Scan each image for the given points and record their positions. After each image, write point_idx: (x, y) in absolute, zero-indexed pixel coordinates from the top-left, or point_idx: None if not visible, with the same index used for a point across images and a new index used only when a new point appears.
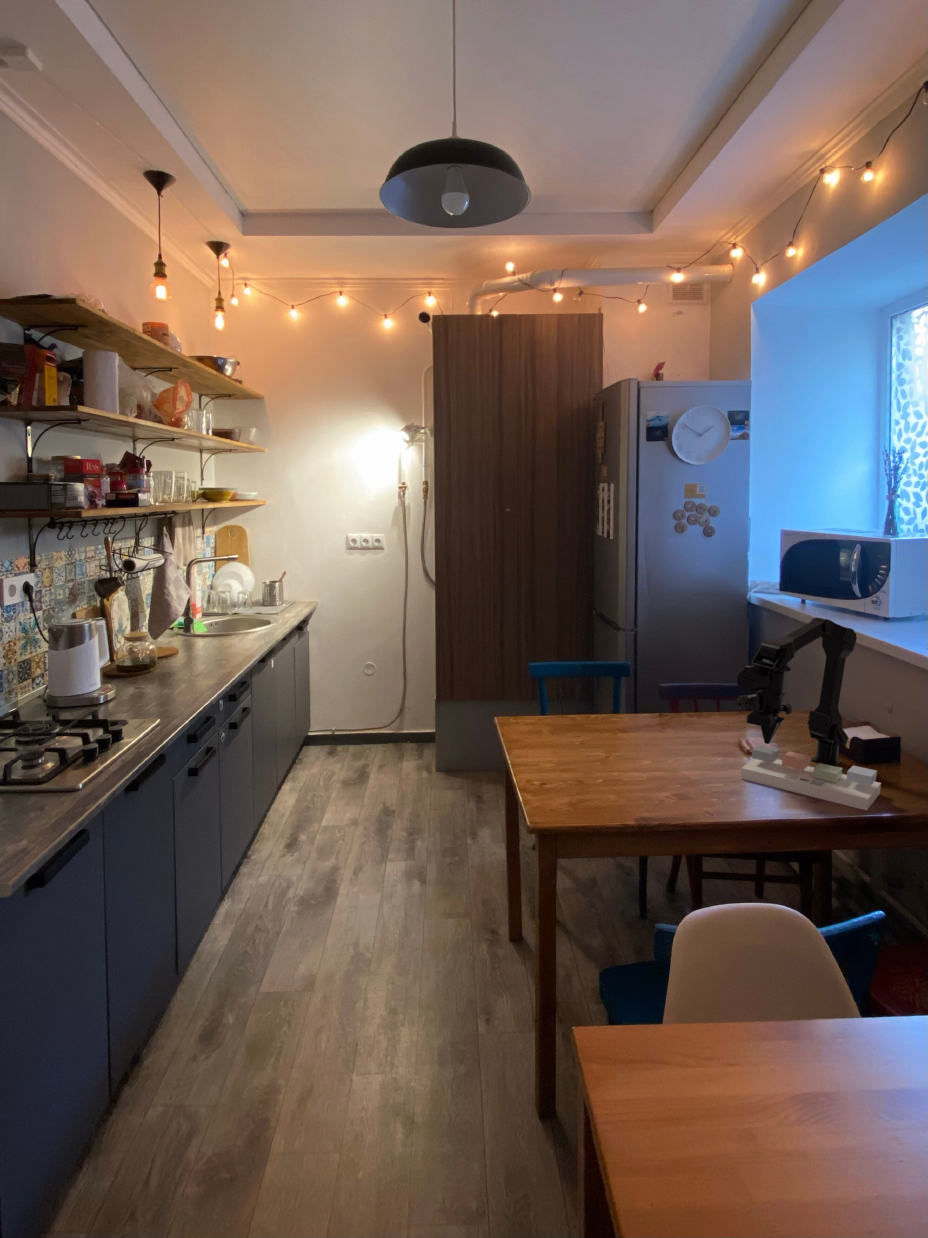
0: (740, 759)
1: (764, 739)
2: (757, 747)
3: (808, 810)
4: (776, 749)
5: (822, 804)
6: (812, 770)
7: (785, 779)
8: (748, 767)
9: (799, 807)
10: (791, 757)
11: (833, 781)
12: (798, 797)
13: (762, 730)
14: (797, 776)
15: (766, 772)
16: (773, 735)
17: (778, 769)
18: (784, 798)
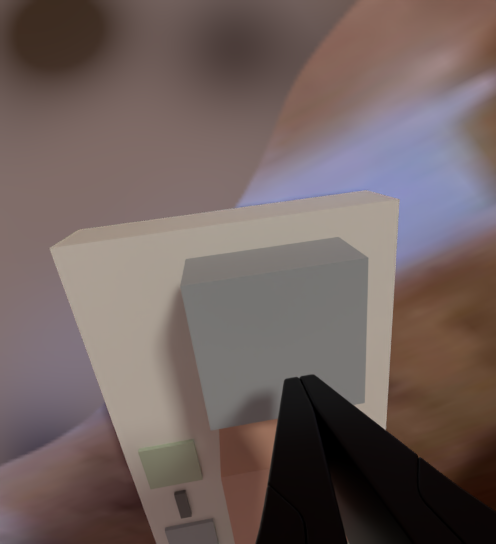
0: (405, 49)
1: (279, 411)
2: (275, 286)
3: (35, 529)
4: (340, 393)
5: (133, 525)
6: None
7: (126, 456)
8: (101, 273)
9: (29, 507)
10: (247, 510)
11: None
12: (119, 466)
13: (263, 526)
14: (195, 478)
15: (122, 373)
16: (343, 517)
17: None
18: (57, 447)
